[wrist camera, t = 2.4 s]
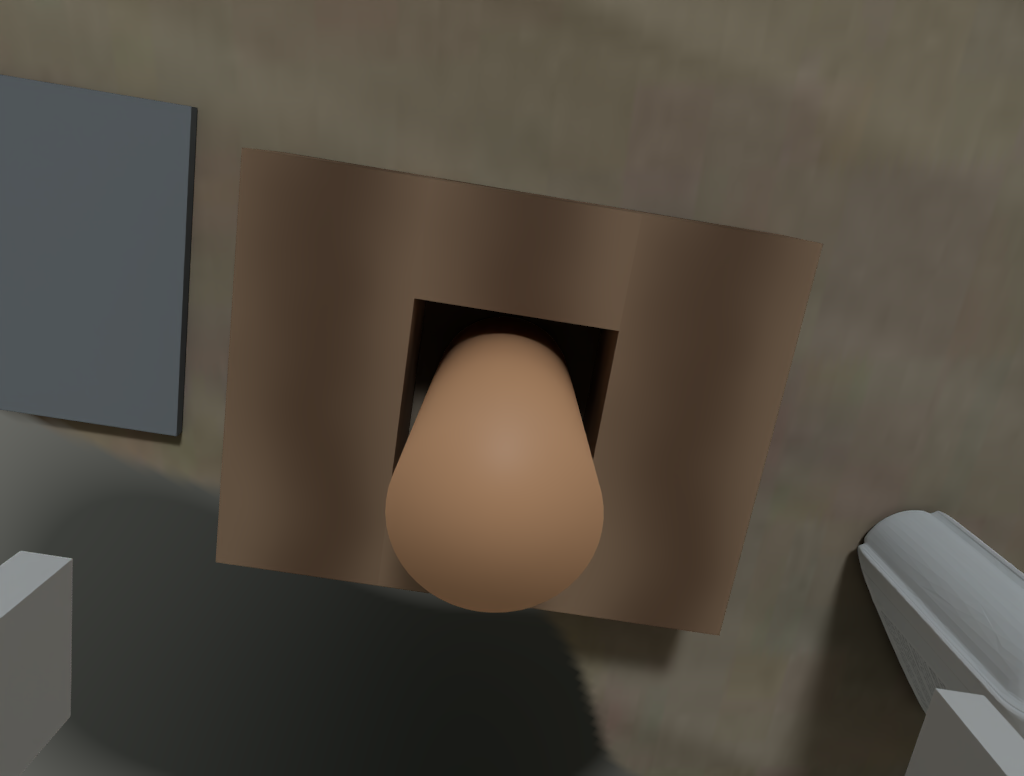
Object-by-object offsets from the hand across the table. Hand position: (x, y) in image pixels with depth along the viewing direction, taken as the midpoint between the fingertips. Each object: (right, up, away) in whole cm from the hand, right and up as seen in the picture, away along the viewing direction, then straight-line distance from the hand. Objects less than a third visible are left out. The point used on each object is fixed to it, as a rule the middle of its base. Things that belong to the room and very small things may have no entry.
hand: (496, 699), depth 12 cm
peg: (0, +5, +17) cm, 18 cm away
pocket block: (0, +5, +17) cm, 18 cm away
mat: (-18, +10, +16) cm, 26 cm away
